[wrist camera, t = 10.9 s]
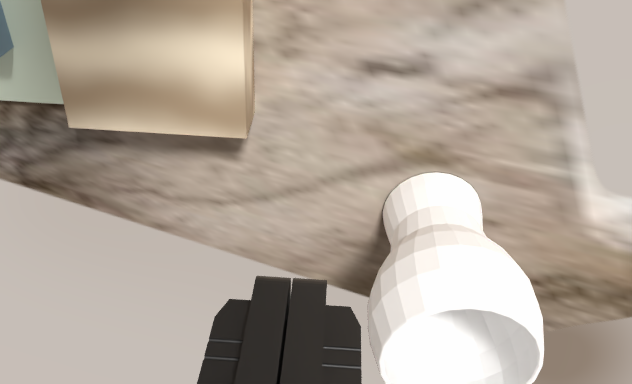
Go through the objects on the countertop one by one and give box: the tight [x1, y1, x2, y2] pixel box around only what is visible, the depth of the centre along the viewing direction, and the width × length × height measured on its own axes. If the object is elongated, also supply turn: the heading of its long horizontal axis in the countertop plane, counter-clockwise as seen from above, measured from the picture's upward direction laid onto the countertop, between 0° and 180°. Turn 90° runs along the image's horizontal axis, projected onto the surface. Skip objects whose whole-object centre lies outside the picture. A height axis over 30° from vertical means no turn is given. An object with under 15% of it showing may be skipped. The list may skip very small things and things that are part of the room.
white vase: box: [368, 173, 544, 384], centre depth 40 cm, size 11×11×15 cm
